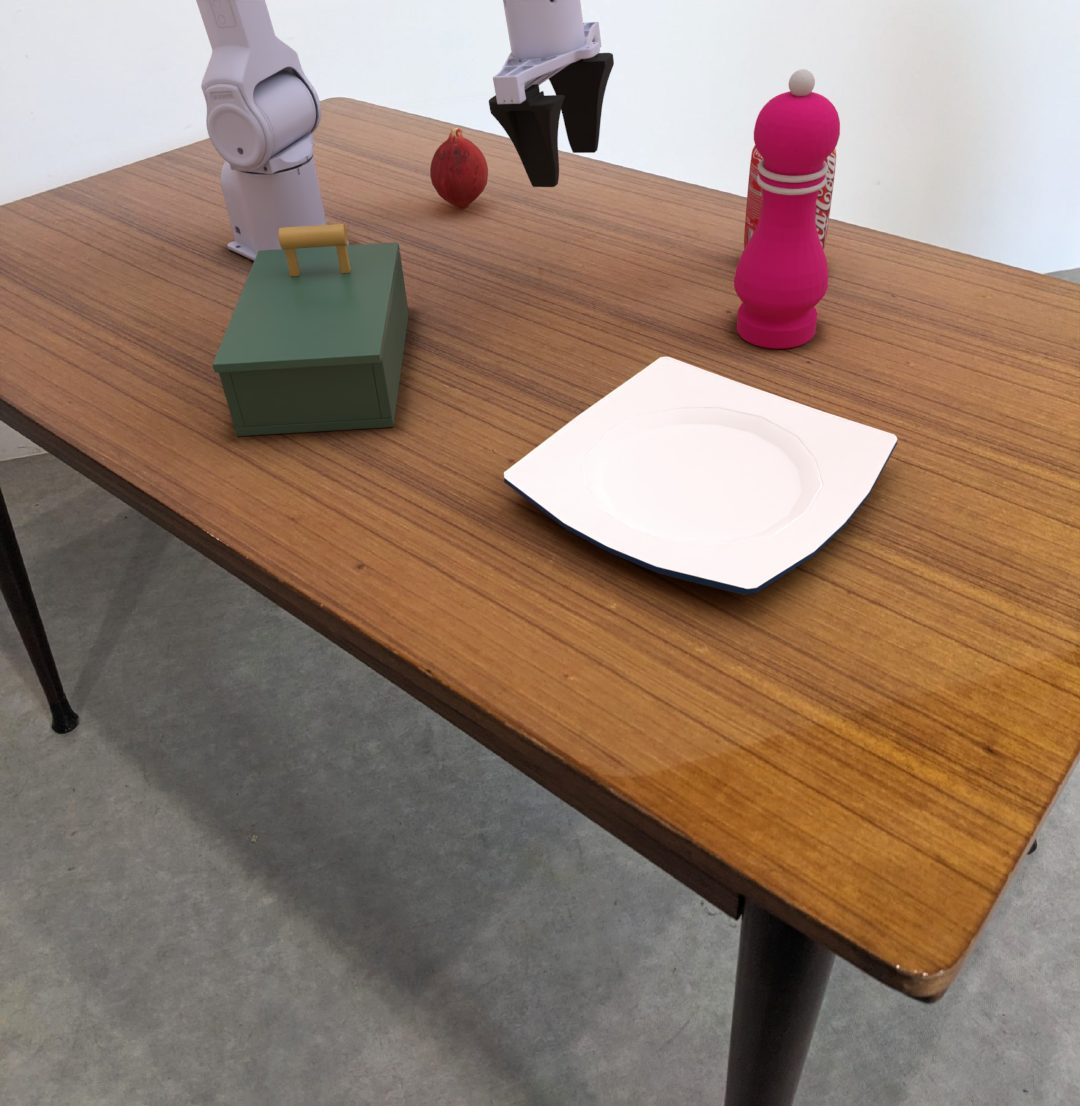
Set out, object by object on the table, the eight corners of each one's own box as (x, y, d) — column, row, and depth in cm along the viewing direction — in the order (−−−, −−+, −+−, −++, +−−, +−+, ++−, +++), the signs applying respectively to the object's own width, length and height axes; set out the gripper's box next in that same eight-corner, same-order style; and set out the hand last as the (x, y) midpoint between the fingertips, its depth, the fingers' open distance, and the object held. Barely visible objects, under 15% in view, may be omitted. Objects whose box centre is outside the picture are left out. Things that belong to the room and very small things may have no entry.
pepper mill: (821, 355, 82) (858, 86, 69) (727, 350, 83) (747, 85, 70) (821, 311, 87) (856, 54, 74) (733, 307, 88) (752, 54, 75)
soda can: (817, 249, 96) (835, 114, 88) (826, 285, 91) (845, 144, 83) (739, 250, 97) (750, 116, 89) (743, 285, 91) (754, 145, 84)
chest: (393, 427, 77) (382, 357, 73) (236, 436, 77) (216, 367, 73) (409, 314, 90) (399, 250, 87) (275, 322, 91) (260, 258, 87)
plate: (659, 377, 81) (660, 346, 79) (912, 467, 70) (920, 434, 68) (482, 510, 69) (479, 477, 67) (755, 642, 59) (759, 607, 57)
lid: (381, 363, 73) (371, 303, 70) (214, 373, 73) (197, 314, 70) (399, 249, 87) (392, 196, 84) (260, 258, 87) (247, 205, 84)
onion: (489, 218, 105) (482, 137, 100) (432, 221, 105) (422, 140, 100) (492, 196, 109) (486, 117, 104) (437, 198, 110) (428, 120, 105)
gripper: (543, 6, 71) (571, 202, 79) (627, -44, 81) (644, 137, 89) (455, 12, 74) (491, 201, 82) (546, -36, 84) (570, 137, 92)
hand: (565, 168), depth 86 cm, fingers open, 7 cm apart
